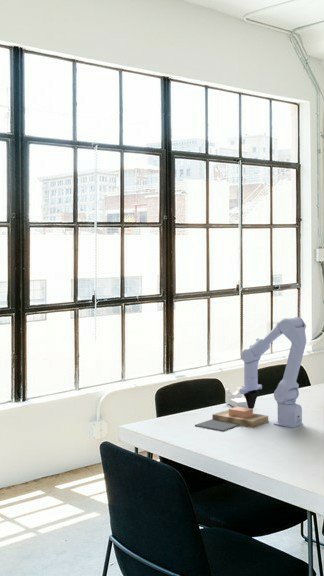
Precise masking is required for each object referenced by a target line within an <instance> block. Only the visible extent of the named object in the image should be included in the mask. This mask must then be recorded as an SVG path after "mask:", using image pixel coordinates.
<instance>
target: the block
mask: <svg viewBox="0 0 324 576" xmlns="http://www.w3.org/2000/svg"><path fill="white" fill-rule="evenodd" d="M228 409H229V415H232V416H238V417H244V418H245V417H248V416H251V415H253V413H254V410H253V409H254V408H253V409H249V408H243V407H234V406H233V407H231V408H228Z"/></svg>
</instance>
